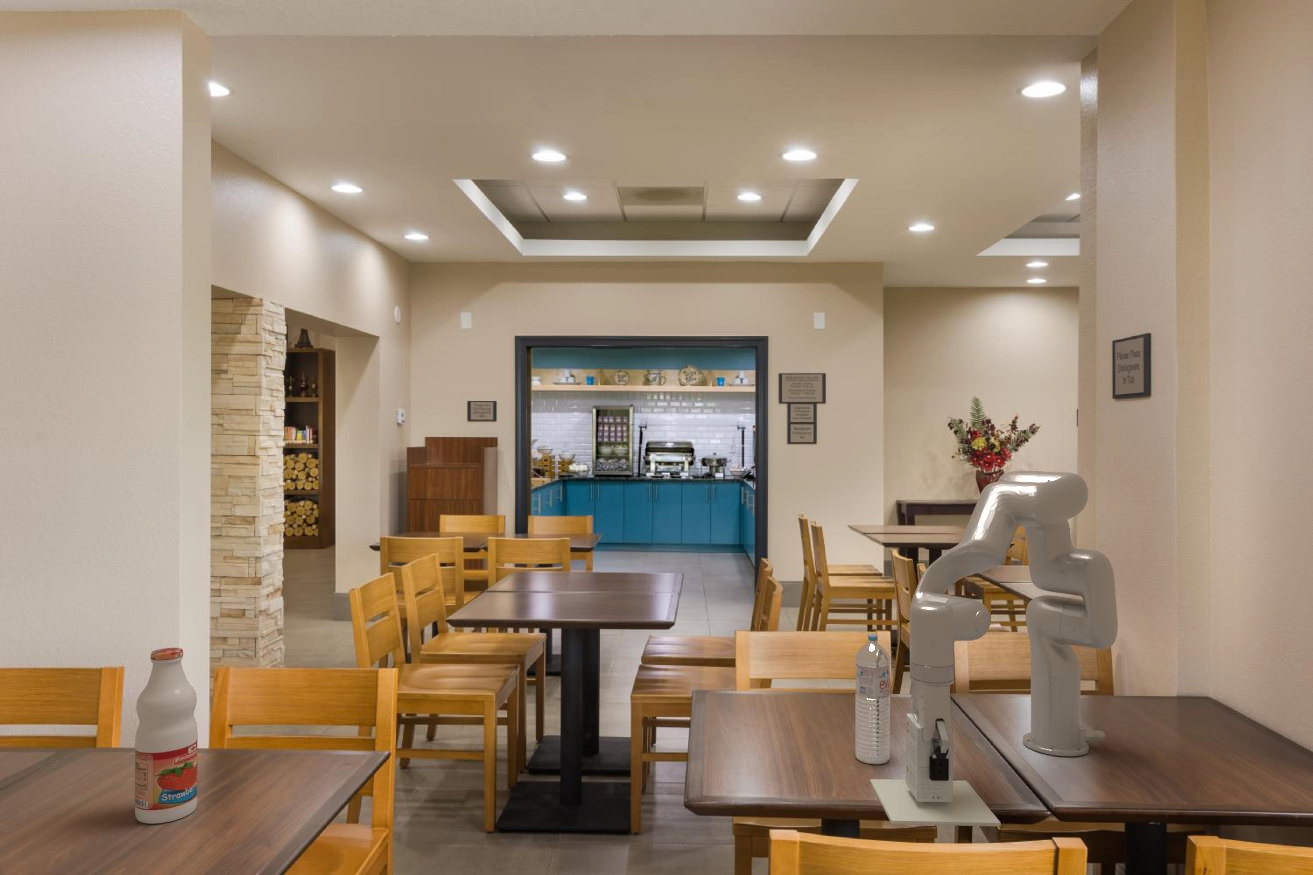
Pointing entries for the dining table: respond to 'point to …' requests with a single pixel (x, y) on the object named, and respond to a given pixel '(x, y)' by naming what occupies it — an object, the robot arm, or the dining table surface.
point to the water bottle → (872, 703)
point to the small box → (925, 766)
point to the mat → (933, 806)
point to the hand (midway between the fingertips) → (932, 769)
